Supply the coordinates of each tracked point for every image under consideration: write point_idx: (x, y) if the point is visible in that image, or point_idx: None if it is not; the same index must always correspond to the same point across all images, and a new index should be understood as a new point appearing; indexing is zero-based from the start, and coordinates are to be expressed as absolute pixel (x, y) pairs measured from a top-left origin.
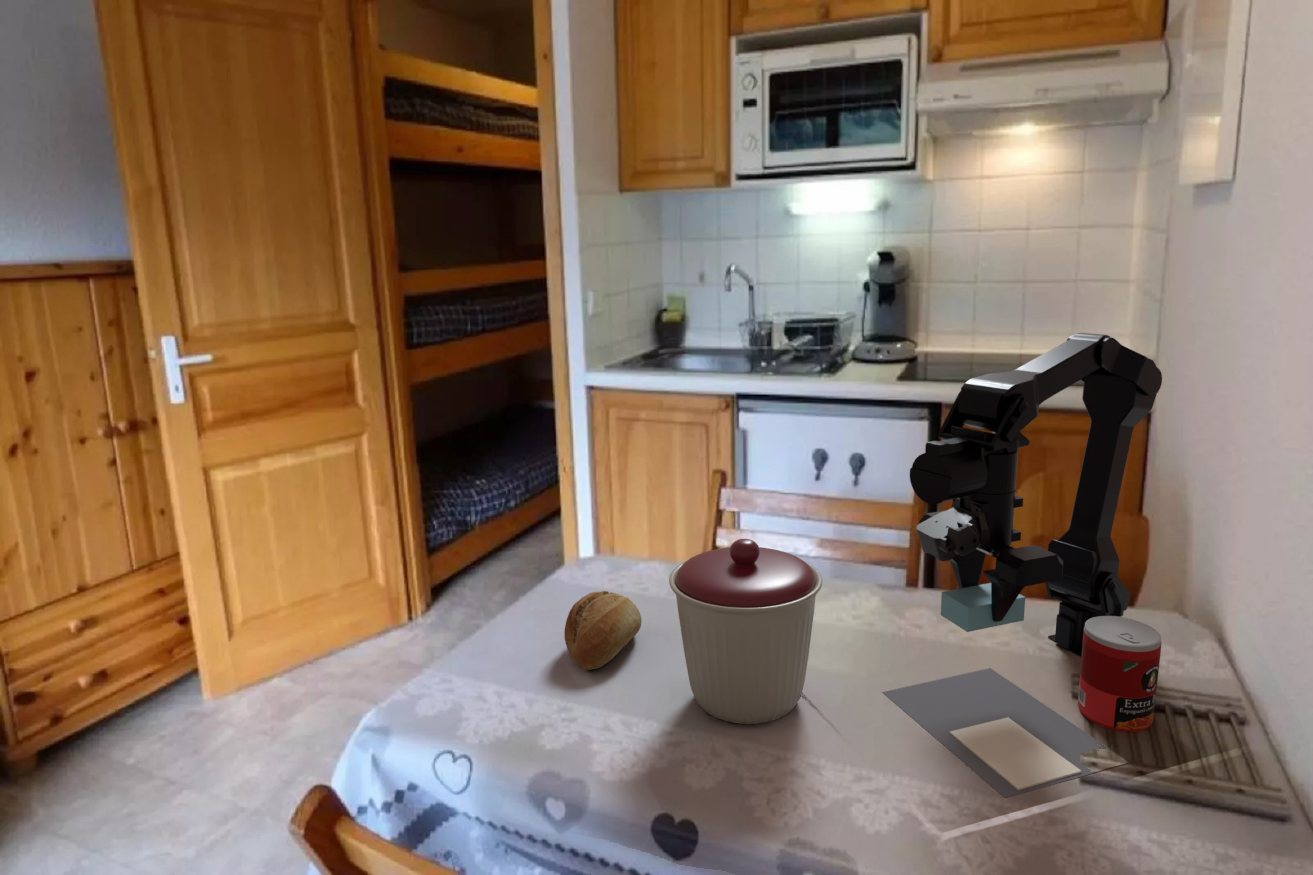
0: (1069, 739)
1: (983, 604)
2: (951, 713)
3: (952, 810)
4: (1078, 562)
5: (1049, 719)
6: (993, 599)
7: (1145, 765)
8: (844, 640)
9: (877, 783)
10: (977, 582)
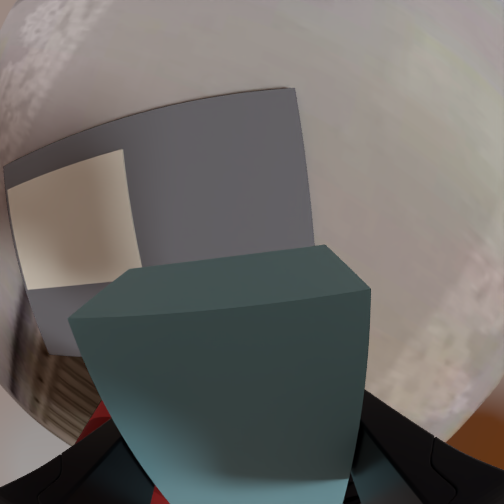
0: None
1: (117, 413)
2: (180, 183)
3: (13, 100)
4: None
5: None
6: (88, 455)
7: (57, 367)
8: (484, 145)
9: (74, 23)
10: (356, 484)
